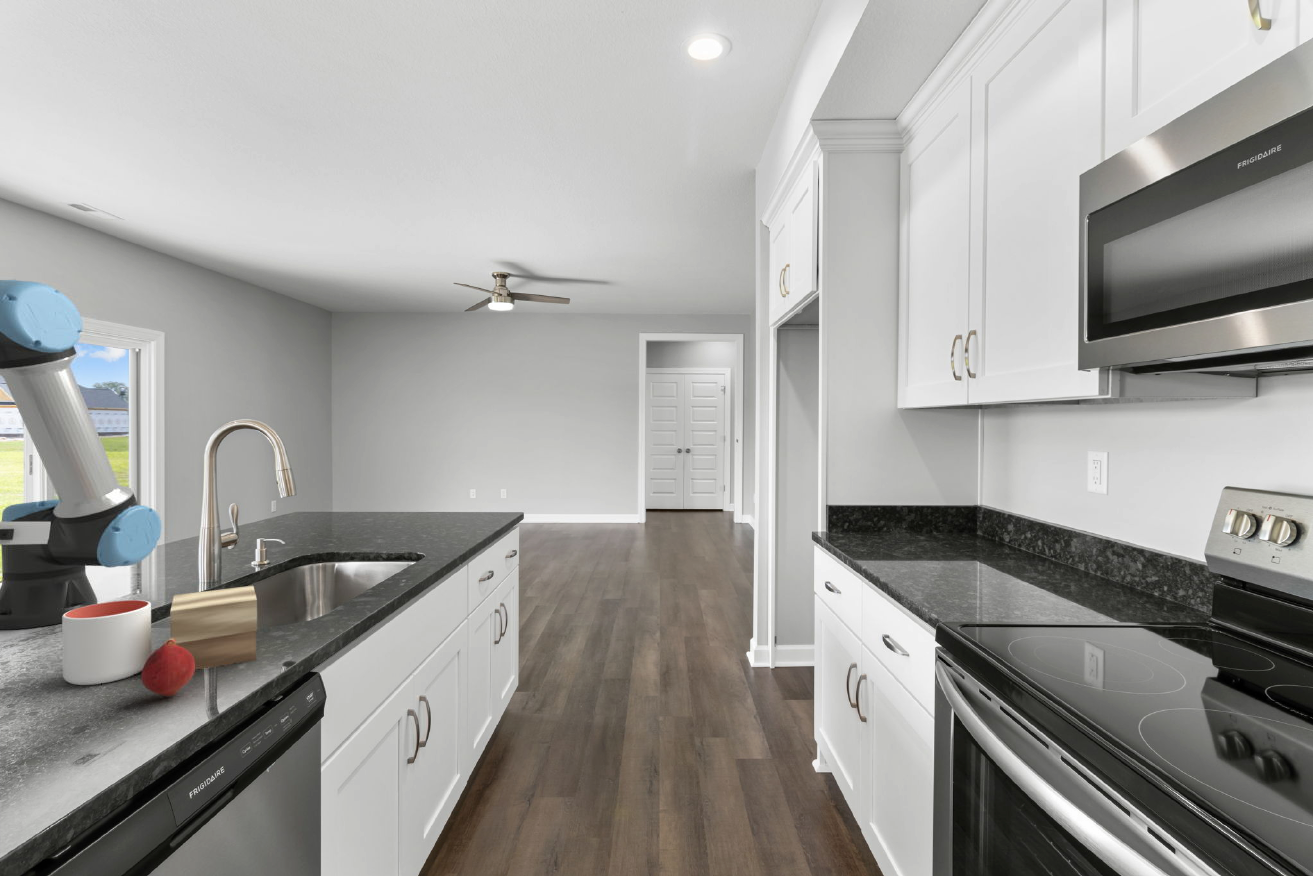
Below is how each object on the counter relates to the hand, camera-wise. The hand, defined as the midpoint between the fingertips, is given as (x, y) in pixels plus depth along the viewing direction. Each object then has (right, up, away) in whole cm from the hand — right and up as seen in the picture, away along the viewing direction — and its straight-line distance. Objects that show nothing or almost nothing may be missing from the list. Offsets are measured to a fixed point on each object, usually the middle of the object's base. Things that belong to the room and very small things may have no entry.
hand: (49, 532), depth 91 cm
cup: (+6, -22, +3) cm, 23 cm away
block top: (+17, -17, +10) cm, 26 cm away
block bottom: (+17, -22, +10) cm, 30 cm away
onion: (+21, -22, -5) cm, 31 cm away
